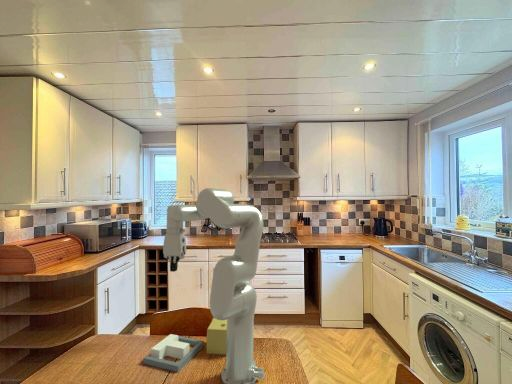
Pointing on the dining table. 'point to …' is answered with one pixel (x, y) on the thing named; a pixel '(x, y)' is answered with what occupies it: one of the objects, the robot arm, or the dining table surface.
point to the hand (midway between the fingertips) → (173, 270)
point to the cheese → (217, 337)
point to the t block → (170, 348)
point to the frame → (182, 362)
